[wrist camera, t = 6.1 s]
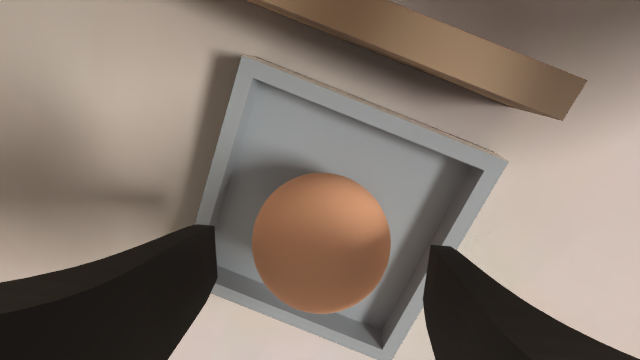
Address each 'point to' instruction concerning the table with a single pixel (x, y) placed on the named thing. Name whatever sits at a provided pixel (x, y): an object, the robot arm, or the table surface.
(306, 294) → the ball
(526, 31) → the table surface
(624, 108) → the table surface
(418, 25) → the rail
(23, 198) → the table surface
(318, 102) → the dish
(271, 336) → the table surface
